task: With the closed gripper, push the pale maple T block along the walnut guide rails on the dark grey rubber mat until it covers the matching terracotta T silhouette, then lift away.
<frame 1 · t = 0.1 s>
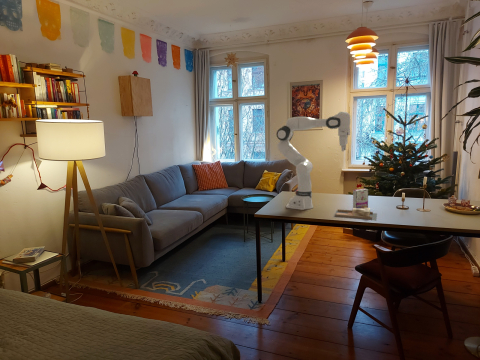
hand: (343, 150, 262), 48 cm above the table, tool pointing down, fingers open, 8 cm apart
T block: (360, 215, 252), resting on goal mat
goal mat: (355, 215, 253), on the table
candy bar box: (360, 209, 271), on the table
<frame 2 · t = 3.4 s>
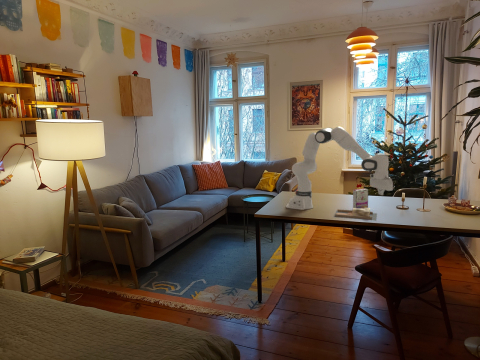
hand: (380, 194, 243), 17 cm above the table, tool pointing down, fingers closed
nothing on the table moved.
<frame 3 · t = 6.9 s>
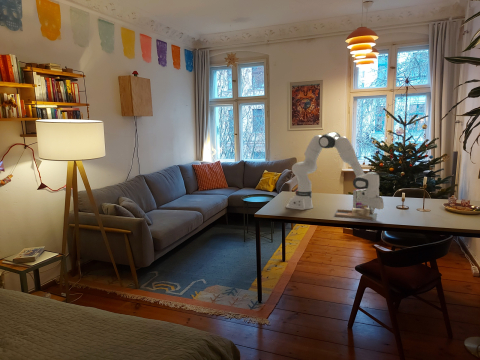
hand: (371, 212, 248), 3 cm above the table, tool pointing down, fingers closed
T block: (360, 215, 252), resting on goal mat, touching gripper
everything else where it was.
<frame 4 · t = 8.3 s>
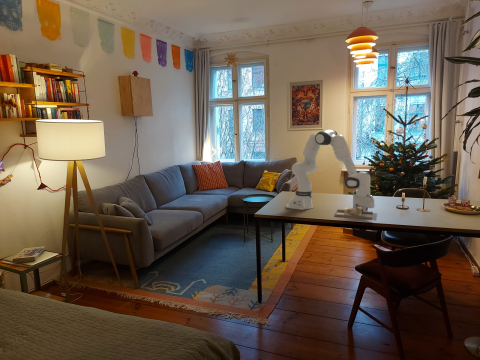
hand: (363, 211, 251), 4 cm above the table, tool pointing down, fingers closed
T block: (352, 215, 253), resting on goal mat, touching gripper
everything else where it was.
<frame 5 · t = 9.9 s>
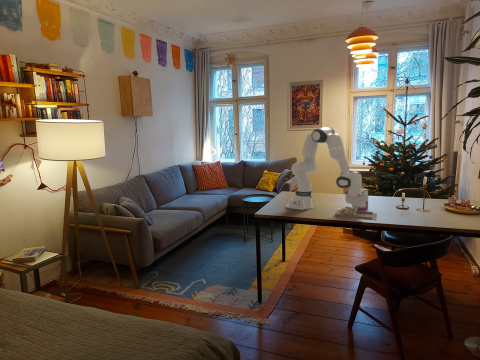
hand: (354, 210, 253), 4 cm above the table, tool pointing down, fingers closed
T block: (345, 215, 254), resting on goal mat, touching gripper
everything else where it was.
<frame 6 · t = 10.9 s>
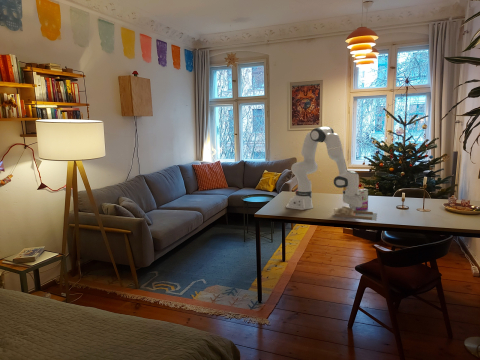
hand: (352, 210, 254), 4 cm above the table, tool pointing down, fingers closed
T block: (342, 214, 255), resting on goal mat, touching gripper
everything else where it was.
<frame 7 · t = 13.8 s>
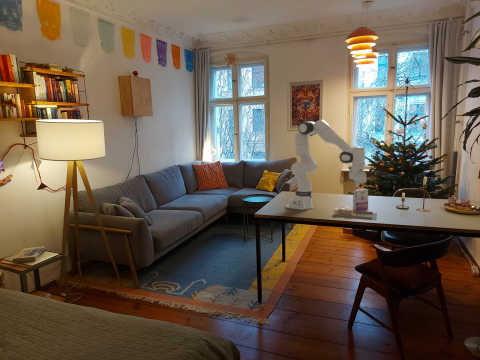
hand: (357, 186, 251), 22 cm above the table, tool pointing down, fingers closed
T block: (342, 214, 255), resting on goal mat
everything else where it was.
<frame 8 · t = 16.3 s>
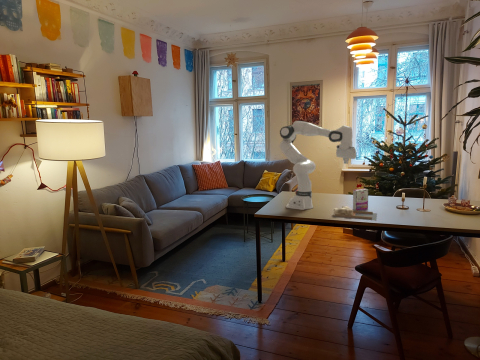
hand: (345, 163, 269), 37 cm above the table, tool pointing down, fingers closed
nothing on the table moved.
at the end: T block 3.1 cm from the target spot, resting on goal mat; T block tilted 0° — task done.
